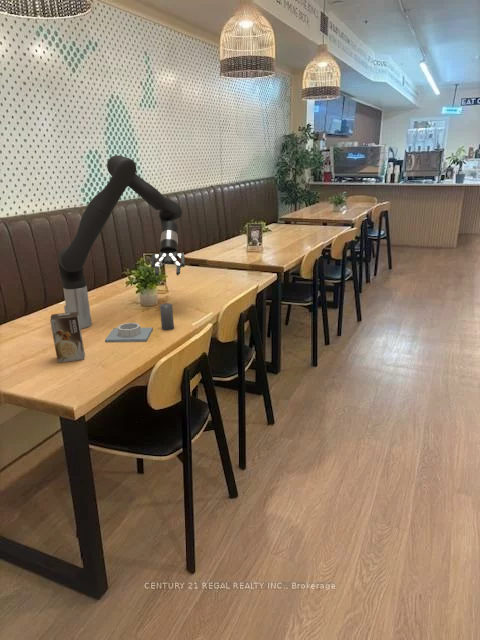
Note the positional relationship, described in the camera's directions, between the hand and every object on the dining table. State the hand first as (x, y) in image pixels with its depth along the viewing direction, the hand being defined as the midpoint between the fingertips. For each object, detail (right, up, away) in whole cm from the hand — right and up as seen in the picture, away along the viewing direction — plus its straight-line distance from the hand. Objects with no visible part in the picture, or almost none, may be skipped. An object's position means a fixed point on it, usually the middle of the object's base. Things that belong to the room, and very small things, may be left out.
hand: (167, 274), depth 196 cm
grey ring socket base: (-13, -25, -12) cm, 31 cm away
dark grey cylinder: (+1, -23, -5) cm, 23 cm away
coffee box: (-29, -33, -32) cm, 54 cm away
